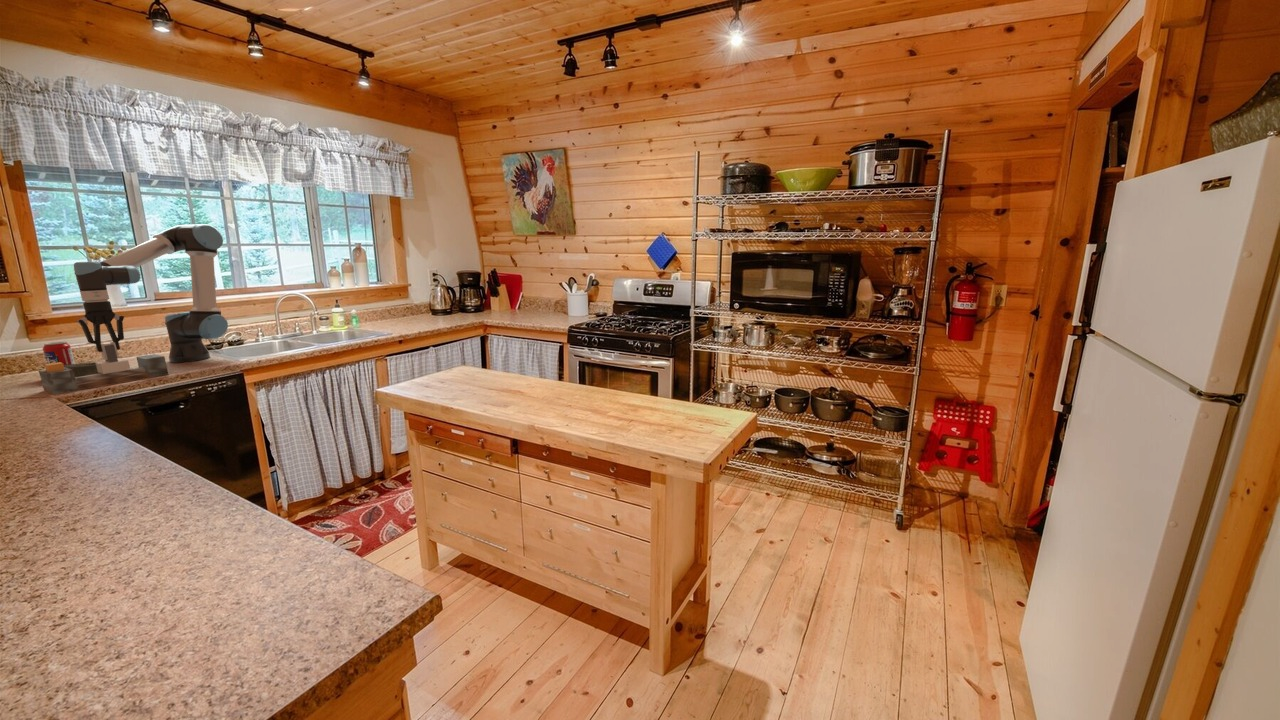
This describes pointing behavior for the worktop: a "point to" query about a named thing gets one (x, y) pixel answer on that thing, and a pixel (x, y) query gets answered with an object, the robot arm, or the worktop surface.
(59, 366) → the plunger
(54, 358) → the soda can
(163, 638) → the worktop surface
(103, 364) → the carriage
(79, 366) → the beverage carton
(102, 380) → the rail stand
